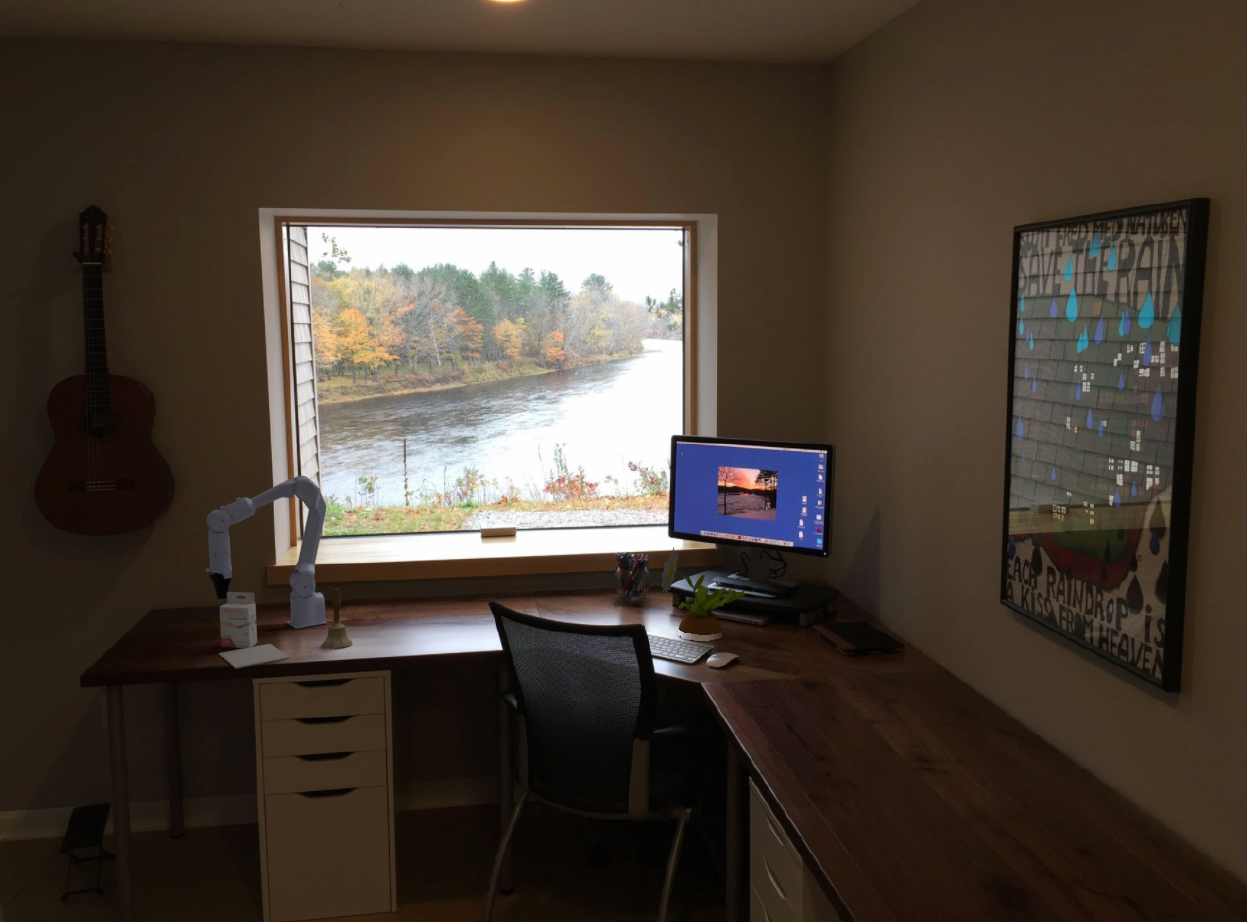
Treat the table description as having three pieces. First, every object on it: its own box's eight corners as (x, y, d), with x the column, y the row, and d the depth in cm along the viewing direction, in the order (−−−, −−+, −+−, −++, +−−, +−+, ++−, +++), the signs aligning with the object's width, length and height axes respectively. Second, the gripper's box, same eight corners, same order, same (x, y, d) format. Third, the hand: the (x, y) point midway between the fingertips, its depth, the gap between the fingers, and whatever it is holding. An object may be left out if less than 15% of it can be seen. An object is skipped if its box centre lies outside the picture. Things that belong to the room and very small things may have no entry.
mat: (270, 645, 293) (270, 643, 293) (289, 658, 281) (288, 657, 281) (218, 654, 285) (218, 653, 285) (235, 668, 273) (235, 667, 273)
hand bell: (337, 638, 299) (335, 584, 297) (359, 643, 295) (356, 587, 293) (315, 646, 292) (313, 590, 290) (337, 651, 288) (334, 594, 286)
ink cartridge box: (220, 647, 291) (217, 595, 289) (228, 642, 296) (226, 591, 294) (250, 648, 290) (247, 596, 288) (258, 643, 295) (255, 592, 293)
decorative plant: (675, 620, 316) (676, 538, 313) (754, 627, 308) (755, 543, 305) (647, 645, 291) (647, 557, 288) (733, 654, 283) (733, 563, 280)
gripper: (198, 549, 305) (200, 595, 307) (212, 558, 293) (215, 605, 295) (223, 546, 309) (225, 591, 311) (238, 555, 298) (240, 601, 299)
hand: (222, 598), depth 303 cm, fingers closed
